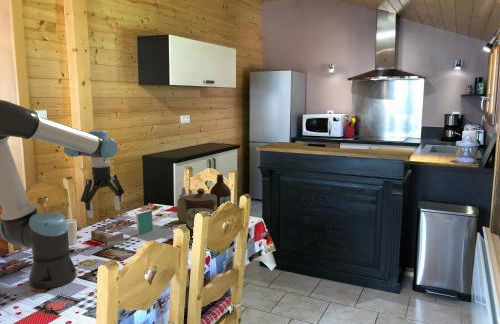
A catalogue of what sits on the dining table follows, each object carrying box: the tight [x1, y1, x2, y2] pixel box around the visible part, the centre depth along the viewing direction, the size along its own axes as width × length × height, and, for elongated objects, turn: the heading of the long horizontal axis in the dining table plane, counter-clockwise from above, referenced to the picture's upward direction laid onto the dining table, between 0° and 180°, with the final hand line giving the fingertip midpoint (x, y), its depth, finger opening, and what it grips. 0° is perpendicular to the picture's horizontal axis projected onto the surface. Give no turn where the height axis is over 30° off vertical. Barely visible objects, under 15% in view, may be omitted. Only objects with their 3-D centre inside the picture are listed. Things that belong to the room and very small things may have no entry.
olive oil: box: [209, 173, 232, 209], centre depth 213 cm, size 11×11×25 cm
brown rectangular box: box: [90, 229, 125, 250], centre depth 187 cm, size 17×8×5 cm, turn 53°
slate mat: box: [123, 223, 174, 242], centre depth 199 cm, size 18×20×1 cm
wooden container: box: [185, 188, 217, 239], centre depth 195 cm, size 15×15×22 cm
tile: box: [135, 209, 153, 235], centre depth 197 cm, size 8×2×10 cm, turn 143°
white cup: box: [66, 218, 78, 246], centre depth 186 cm, size 8×8×10 cm
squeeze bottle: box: [176, 186, 190, 224], centre depth 216 cm, size 8×8×18 cm
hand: (104, 213), depth 185 cm, fingers open, 13 cm apart
